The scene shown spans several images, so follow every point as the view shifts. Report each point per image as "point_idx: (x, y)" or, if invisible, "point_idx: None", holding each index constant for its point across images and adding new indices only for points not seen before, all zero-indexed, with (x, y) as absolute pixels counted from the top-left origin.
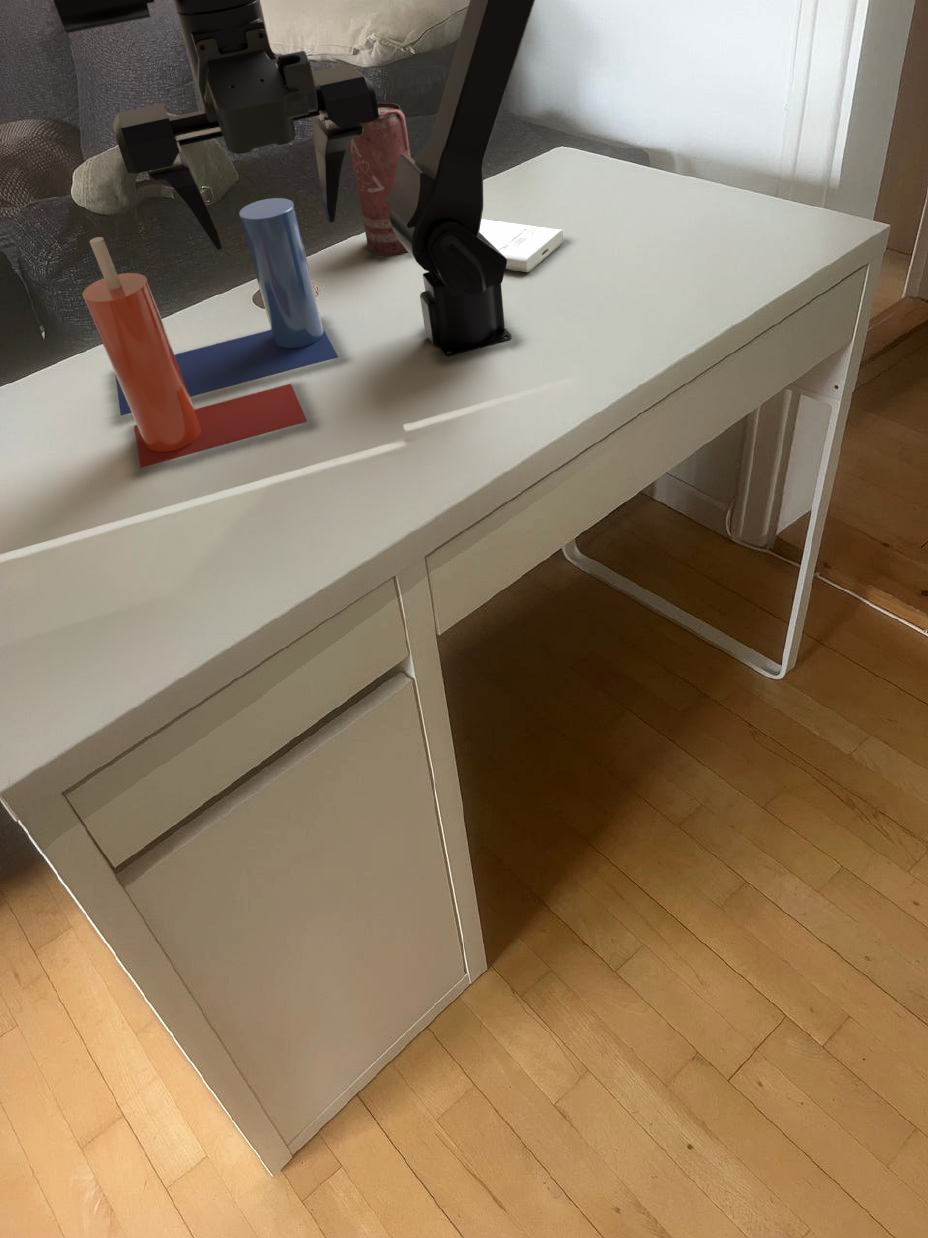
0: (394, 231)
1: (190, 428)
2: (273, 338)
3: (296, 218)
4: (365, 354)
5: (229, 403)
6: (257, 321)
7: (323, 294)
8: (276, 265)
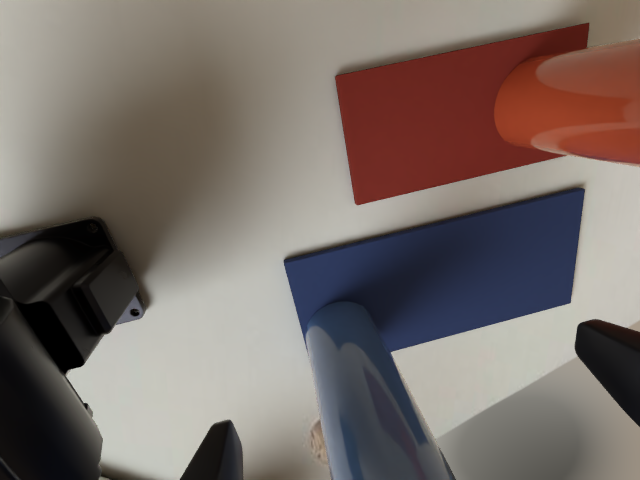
0: (93, 449)
1: (522, 74)
2: None
3: None
4: (243, 270)
5: (447, 172)
6: None
7: (304, 431)
8: (382, 396)
